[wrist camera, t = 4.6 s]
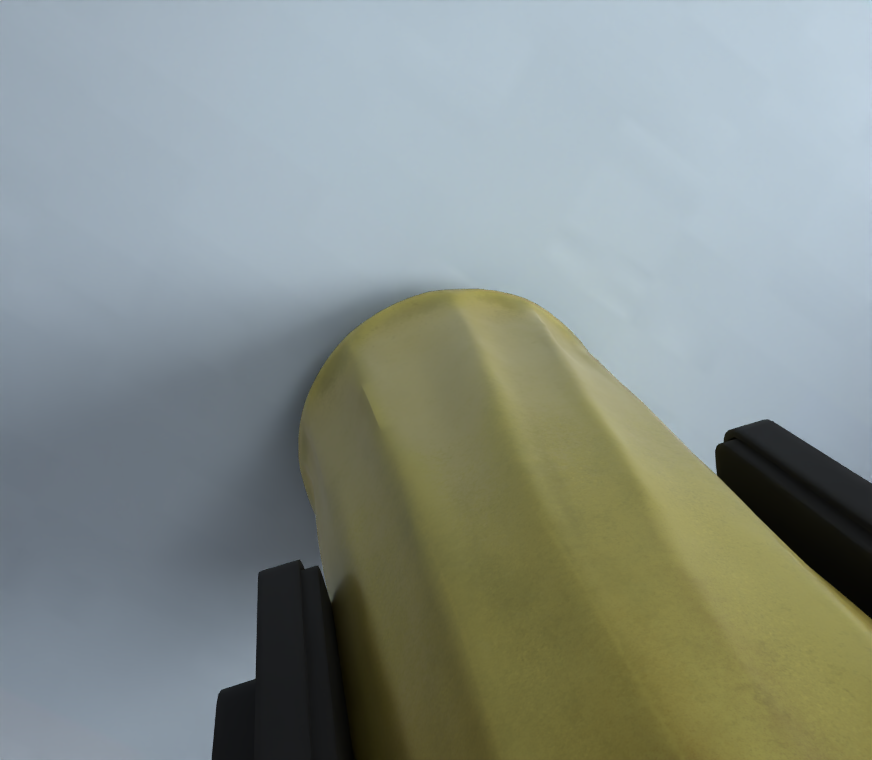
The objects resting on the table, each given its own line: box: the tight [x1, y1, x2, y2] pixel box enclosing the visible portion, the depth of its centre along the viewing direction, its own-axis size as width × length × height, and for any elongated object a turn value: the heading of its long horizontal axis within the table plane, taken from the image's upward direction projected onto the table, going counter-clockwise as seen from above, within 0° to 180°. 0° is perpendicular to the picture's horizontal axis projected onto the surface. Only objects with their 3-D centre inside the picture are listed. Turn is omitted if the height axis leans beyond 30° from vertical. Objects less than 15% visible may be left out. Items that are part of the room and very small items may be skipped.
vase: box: [298, 289, 872, 760], centre depth 9 cm, size 6×6×14 cm
